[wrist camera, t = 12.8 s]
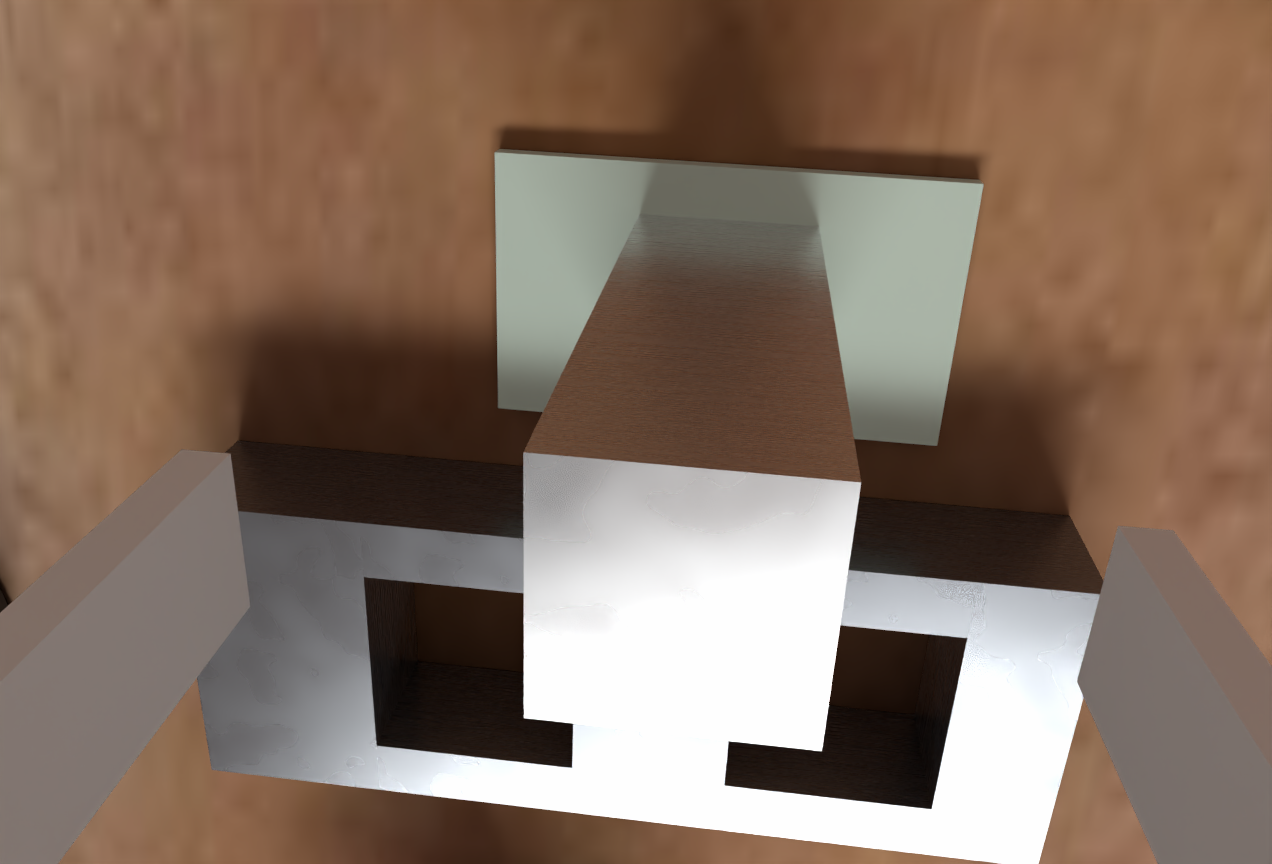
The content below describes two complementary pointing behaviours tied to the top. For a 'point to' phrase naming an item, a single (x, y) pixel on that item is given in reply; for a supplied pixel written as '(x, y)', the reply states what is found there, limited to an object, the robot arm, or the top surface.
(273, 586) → the grey hollow block
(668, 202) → the green pad
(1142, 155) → the top surface
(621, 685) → the steel peg
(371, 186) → the top surface
